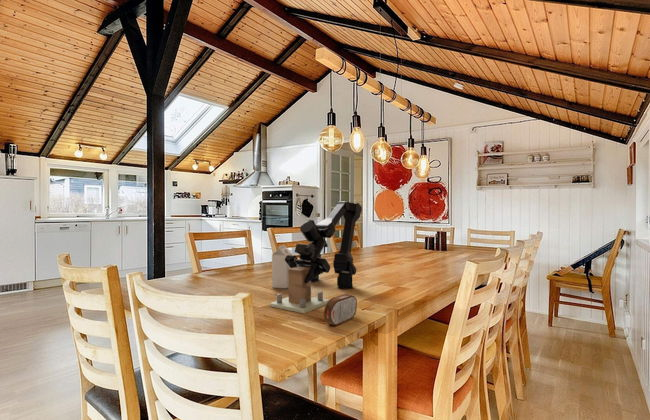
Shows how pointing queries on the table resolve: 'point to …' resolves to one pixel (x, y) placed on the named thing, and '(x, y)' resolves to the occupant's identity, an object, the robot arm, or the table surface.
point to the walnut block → (298, 284)
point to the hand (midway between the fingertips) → (297, 281)
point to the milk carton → (280, 268)
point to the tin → (340, 309)
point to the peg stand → (303, 305)
